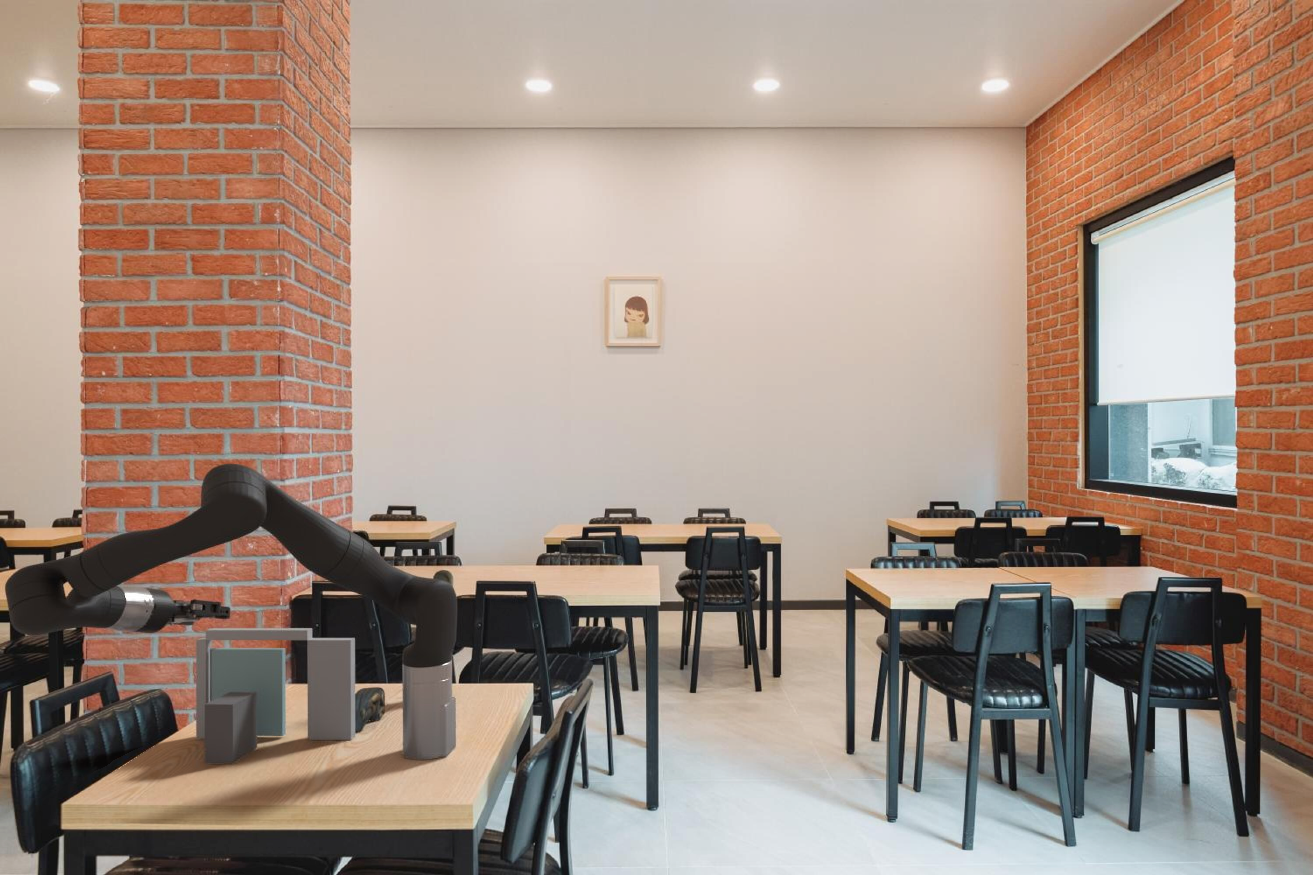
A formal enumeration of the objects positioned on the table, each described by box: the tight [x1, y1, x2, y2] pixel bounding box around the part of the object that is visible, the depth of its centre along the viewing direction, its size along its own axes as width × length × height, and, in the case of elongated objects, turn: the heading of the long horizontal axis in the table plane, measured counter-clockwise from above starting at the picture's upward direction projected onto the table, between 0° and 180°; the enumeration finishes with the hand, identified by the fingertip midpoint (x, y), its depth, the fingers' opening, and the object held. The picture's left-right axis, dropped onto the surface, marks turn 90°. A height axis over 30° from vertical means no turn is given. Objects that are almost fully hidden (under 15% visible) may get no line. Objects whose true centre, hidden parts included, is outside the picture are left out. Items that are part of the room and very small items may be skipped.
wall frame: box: [195, 627, 356, 741], centre depth 165 cm, size 32×2×22 cm, turn 86°
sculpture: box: [355, 686, 386, 733], centre depth 173 cm, size 13×6×7 cm, turn 5°
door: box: [210, 647, 287, 737], centre depth 166 cm, size 16×2×18 cm, turn 86°
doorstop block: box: [204, 692, 258, 765], centre depth 155 cm, size 6×8×11 cm
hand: (210, 616), depth 153 cm, fingers open, 8 cm apart
